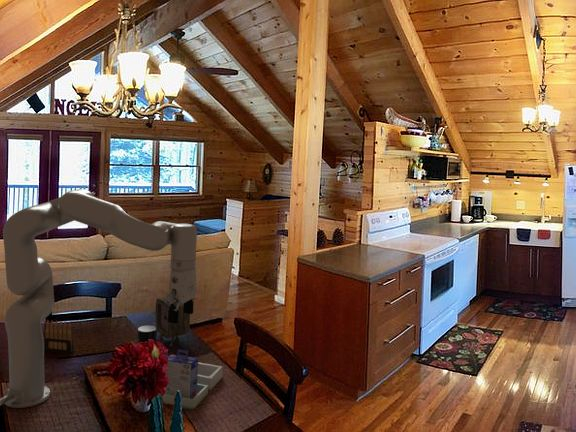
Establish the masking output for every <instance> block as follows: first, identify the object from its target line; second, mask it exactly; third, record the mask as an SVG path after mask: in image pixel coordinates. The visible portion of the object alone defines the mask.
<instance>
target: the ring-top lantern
mask: <svg viewBox="0 0 576 432" xmlns="http://www.w3.org/2000/svg"><path fill="white" fill-rule="evenodd" d="M168 295H169V293H168V294H167V295H166V297H162V298H161V297H160V298H157V299H156V301H155V327H156V328H157V333H159V335H158V338H159V339H163V338H166V339H169V338H171V342H170V343H169V347H170V348H172V347H174V346H175V344H174V340H175V341H179V340H180V338H179V336H184V335H185V336H186V335H187V334H188V333H189V332H190V327H191V324H190V323H191V314H188V313H184V312H183V309H184V304H181V303H180V304H179V307H178V311H179V317H178V323H177V324H175V323H169V322H168V307H167V303H166V298H167V297H168ZM173 304H174V306H175V305H176V303H173Z"/></svg>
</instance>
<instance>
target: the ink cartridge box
mask: <svg viewBox="0 0 576 432" xmlns="http://www.w3.org/2000/svg"><path fill="white" fill-rule="evenodd" d="M180 353H184V354H185V355H184V354H180ZM188 355H189V350H185V349H179V348H178V350H177V353H176V354H170V355H168V356H167V357H168V371H167V375H168V379H169V384H168V387H167V388H166V392H165V394H169V395H174V396H175V393H176V391H177V390H180V392H181V395H182V397H184V398H189V399H193V398H194V397H195V396H196V395H197V378H198V375H199V374H198V362H199V357H192V356H188Z"/></svg>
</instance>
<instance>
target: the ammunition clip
mask: <svg viewBox="0 0 576 432" xmlns="http://www.w3.org/2000/svg"><path fill="white" fill-rule="evenodd" d="M44 352H53V353H61V354H62V353H63V354H72V353H74V339H73V330H72V324H71V321H69V322H68V324H67V321H64V323H63V322H62V320H60V322H58V320H56V321H55V323H54V321H53V319H52V320H51V321H49V319H47V320H46V325H45V337H44Z"/></svg>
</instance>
